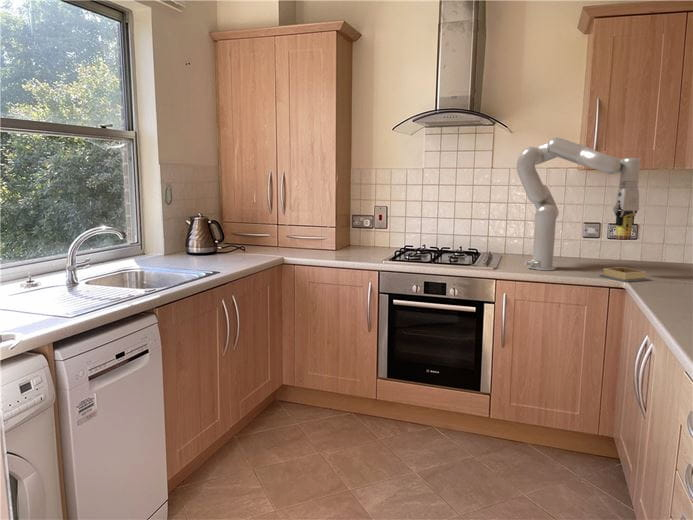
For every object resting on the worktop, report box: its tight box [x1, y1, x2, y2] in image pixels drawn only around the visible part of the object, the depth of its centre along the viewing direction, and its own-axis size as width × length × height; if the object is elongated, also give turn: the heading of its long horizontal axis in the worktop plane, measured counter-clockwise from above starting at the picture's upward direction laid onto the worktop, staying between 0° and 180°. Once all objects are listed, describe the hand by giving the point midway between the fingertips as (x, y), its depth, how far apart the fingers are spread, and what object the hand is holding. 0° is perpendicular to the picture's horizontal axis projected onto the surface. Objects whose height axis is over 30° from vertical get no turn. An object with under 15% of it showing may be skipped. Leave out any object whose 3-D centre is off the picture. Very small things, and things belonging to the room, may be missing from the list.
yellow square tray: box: [599, 266, 650, 283], centre depth 237 cm, size 14×14×4 cm
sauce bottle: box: [615, 209, 633, 241], centre depth 239 cm, size 7×6×20 cm
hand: (624, 225), depth 239 cm, fingers closed on sauce bottle, 6 cm apart
